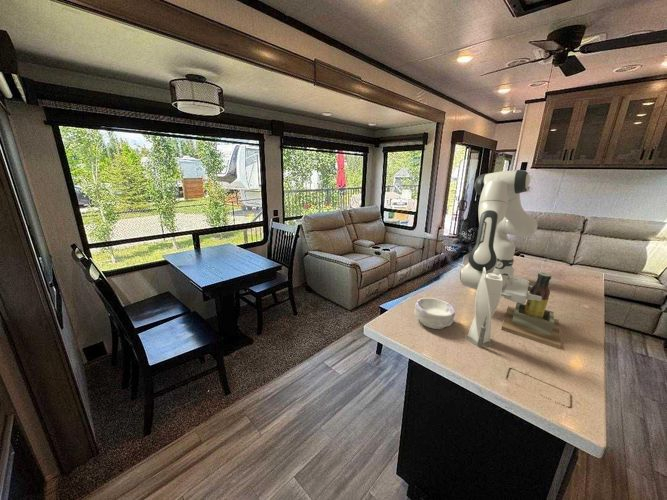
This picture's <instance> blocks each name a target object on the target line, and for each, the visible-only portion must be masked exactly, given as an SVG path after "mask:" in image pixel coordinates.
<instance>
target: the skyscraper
mask: <svg viewBox="0 0 667 500" xmlns="http://www.w3.org/2000/svg"><path fill="white" fill-rule="evenodd" d="M484 271H485V273H484ZM500 277H501V278H500ZM502 285H503V278H502V276H501V274H499V276H498V275H496V274H494V273H488V274H486V268H485V267H483V273H482V276H481V279H480V282H479V285H478V289H477V290H476V293H475V299H474V317H473V319H472V322H471V325H470V329H469V330H468V334H467V335H466V336H464V339H466V340H467V341H468V342H470V343H472V344H473V345H474V346H475V347H477V348H479V349H483V348H487V347H490V346H492V345H494V342H492V341H491V333H492V332H491V331H492V317H493V316H494V314H495V312H496V311H497V308H498V306H499V304H500V300H501V297H502V296H501V293H502Z"/></svg>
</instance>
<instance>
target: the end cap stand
mask: <svg viewBox="0 0 667 500" xmlns="http://www.w3.org/2000/svg"><path fill="white" fill-rule="evenodd" d="M525 306H526V303H525V304H521V303H517V302H516V305H515V307H513V306H511V305H510V306H509V305H508V306H507V307H506V308H507V309H506V312H505V315H504V319H503V322H502V325H501V331H503V332H505V333H506V332H507V333H511V334H513V335H516V336H519V337H522V338H526V339H528V340H531V341H534V342H537V343H541V344H544V345H546V346H549V347H552V348H556V349H559V350H560V348H561V346H562V343H561V334H560V323H559V319H556V318H555V316H554V314H555V313H554V311H552V310H547V309H545V312H544V315H543V318H542V319H540V318H536V317H533V316H529V315H526V314H524V310H525Z"/></svg>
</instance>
